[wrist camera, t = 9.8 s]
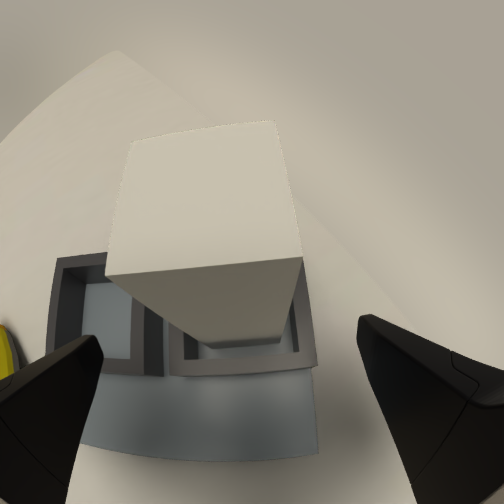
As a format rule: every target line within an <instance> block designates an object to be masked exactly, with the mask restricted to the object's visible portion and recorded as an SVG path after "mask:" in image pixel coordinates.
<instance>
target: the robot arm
mask: <svg viewBox="0 0 504 504" xmlns="http://www.w3.org/2000/svg"><path fill="white" fill-rule="evenodd" d="M356 338H357V345H358V348H359V351H360V354H361V357H362V360H363V364H364V367H365V370H366V374H367V377H368V380H369V382H370V385H371V387H372V389H373V392H374V394H375V396H376V398H377V401H378V403H379V405H380V408H381V410H382V413H383V415H384V417H385V420H386V422H387V425H388V427H389V429H390V432H391V434H392V437H393V439H394V442H395V444H396V447H397V449H398V452H399V455H400V457H401V460H402V462H403V465H404V468H405V470H406V473H407V476H408V479H409V481H410V484H411V487H412V490H413V493H414V496H415V499H416V502H417V504H504V370H500V369H498V368H495V367H492V366H489V365H486V364H483V363H480V362H478V361H475V360H472V359H470V358H468V357H465V356H463V355H460V354H458V353H456V352H454V351H450V350H449V349H447V348H445V347H443V346H440V345H438V344H436V343H434V342H431V341H429V340H427V339H425V338H423V337H421V336H418V335H416V334H414V333H412V332H409V331H407V330H405V329H403V328H401V327H398V326H396V325H394V324H392V323H390V322H388V321H385V320H383V319H381V318H379V317H377V316H374V315H372V314H368V315H362V316H360V317H359V320H358V328H357V337H356ZM103 361H104V354H103V351H102V349H101V346H100V344H99V342H98V339H97V337H96V336H95V335H87V334H86V335H83V336H81V337H79V338H78V339H76V340H74V341H72V342H70V343H68V344H66V345H64V346H63V347H61V348H59V349H57V350H55V351H53V352H51V353H50V354H48V355H46V356H44V357H42V358H40V359H38V360H37V361H35V362H33V363H31V364H29V365H27V366H25V367H24V368H22V369H20V370H18V371H16V372H15V373H12V374H11V375H9V376H7V377H5V378H3V379H1V380H0V504H65V502H66V497H67V492H68V487H69V483H70V478H71V474H72V470H73V466H74V462H75V458H76V455H77V451H78V447H79V444H80V440H81V437H82V434H83V430H84V427H85V424H86V421H87V417H88V414H89V411H90V408H91V405H92V402H93V399H94V396H95V393H96V389H97V385H98V381H99V377H100V373H101V369H102V365H103Z"/></svg>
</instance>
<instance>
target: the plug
mask: <svg viewBox="0 0 504 504" xmlns="http://www.w3.org/2000/svg"><path fill="white" fill-rule="evenodd" d="M302 260H303V252H302V246H301V241H300V236H299V230H298V225H297V220H296V215H295V210H294V205H293V200H292V195H291V190H290V185H289V181H288V176H287V171H286V167H285V163H284V158H283V154H282V149H281V145H280V140H279V136H278V132H277V128H276V124H275V121H274V120H271V121H259V122H247V123H238V124H229V125H221V126H213V127H206V128H199V129H193V130H187V131H181V132H176V133H170V134H165V135H160V136H155V137H150V138H146V139H141V140H137V141H132V142H131V145H130V149H129V152H128V156H127V160H126V164H125V167H124V171H123V176H122V180H121V184H120V188H119V193H118V197H117V202H116V207H115V212H114V217H113V223H112V229H111V234H110V241H109V247H108V254H107V261H106V269H105V276H106V277H107V278H108V279H110V280H111V281H112V282H113V283H115V284H116V285H117V286H119V287H120V288H121V289H123V290H124V291H125V292H127V293H128V294H130V295H131V296H132V297H134V298H135V299H136V300H138V301H139V302H141V303H142V304H143V305H145V306H146V307H148V308H149V309H151V310H152V311H154V312H155V313H156V314H158V315H159V316H161V317H162V318H164V319H165V320H167V321H168V322H170V323H171V324H173V325H174V326H176V327H177V328H179V329H180V330H182V331H184V332H185V333H187V334H188V335H190V336H191V337H193V338H195V339H196V340H198V341H199V342H201V343H203V344H204V345H206V346H208V347H209V348H211V349H220V348H235V347H247V346H258V345H268V344H277V343H280V341H281V337H282V334H283V330H284V327H285V323H286V320H287V316H288V313H289V309H290V305H291V302H292V298H293V294H294V291H295V287H296V283H297V279H298V275H299V271H300V267H301V264H302Z"/></svg>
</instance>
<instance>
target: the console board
mask: <svg viewBox="0 0 504 504" xmlns="http://www.w3.org/2000/svg"><path fill="white" fill-rule="evenodd" d="M107 254H108V252H104V253H95V254H87V255H78V256H70V257H62V258H57V262H56V267H55V273H54V278H53V284H52V291H51V298H50V305H49V314H48V324H47V336H46V353H45V356H46V355H48V354H50V353H51V352H53V351H55V350H57V349H59V348H61V347H63V346H64V345H66V344H68V343H70V342H72V341H74V340H76V339H78V338H79V337H81V336H83V335H86V334H87V335H95V336H96V337H97V339H98V342H99V344H100V346H101V349H102V351H103V354H104V361H103V365H102V369H101V373H100V377H99V381H98V385H97V389H96V393H95V396H94V399H93V402H92V405H91V408H90V411H89V414H88V417H87V421H86V424H85V427H84V430H83V434H82V437H81V440H80V443H81V444H85V445H89V446H93V447H97V448H102V449H106V450H111V451H116V452H122V453H127V454H133V455H140V456H147V457H154V458H163V459H174V460H187V461H213V462H233V461H258V460H272V459H283V458H292V457H299V456H307V455H313V454H318V440H317V428H316V416H315V405H314V394H313V384H312V374H311V368H312V367H315V366H318V364H317V355H316V347H315V339H314V331H313V323H312V316H311V309H310V302H309V295H308V288H307V282H306V275H305V269H304V263H303V260H302V264H301V267H300V271H299V275H298V279H297V283H296V287H295V291H294V294H293V298H292V302H291V305H290V309H289V313H288V316H287V320H286V323H285V327H284V330H283V334H282V337H281V341H280V343H277V344H268V345H258V346H247V347H235V348H220V349H211V348H209V347H208V346H206V345H204V344H203V343H201V342H199V341H198V340H196V339H195V338H193V337H191V336H190V335H188V334H187V333H185V332H184V331H182V330H180V329H179V328H177V327H176V326H174V325H173V324H171V323H170V322H168V321H167V320H165V319H164V318H162V317H161V316H159V315H158V314H156V313H155V312H154V311H152V310H151V309H149V308H148V307H146V306H145V305H143V304H142V303H141V302H139V301H138V300H136V299H135V298H134V297H132V296H131V295H130V294H128V293H127V292H125V291H124V290H123V289H121V288H120V287H119V286H117V285H116V284H115V283H113V282H112V281H111V280H110V279H108V278H107V277H106V276H105V269H106V261H107Z"/></svg>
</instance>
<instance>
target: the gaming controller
mask: <svg viewBox="0 0 504 504" xmlns="http://www.w3.org/2000/svg"><path fill="white" fill-rule="evenodd" d="M18 370H20V368H19V361H18V355H17V352H16V349H15V346H14V343H13V340H12V337H11V335H10V333H9V331H7V330H6V328H5V327H4V326H3V325H0V380H1V379H3V378H5V377H7V376H9V375H11V374H12V373H15V372H16V371H18Z"/></svg>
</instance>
